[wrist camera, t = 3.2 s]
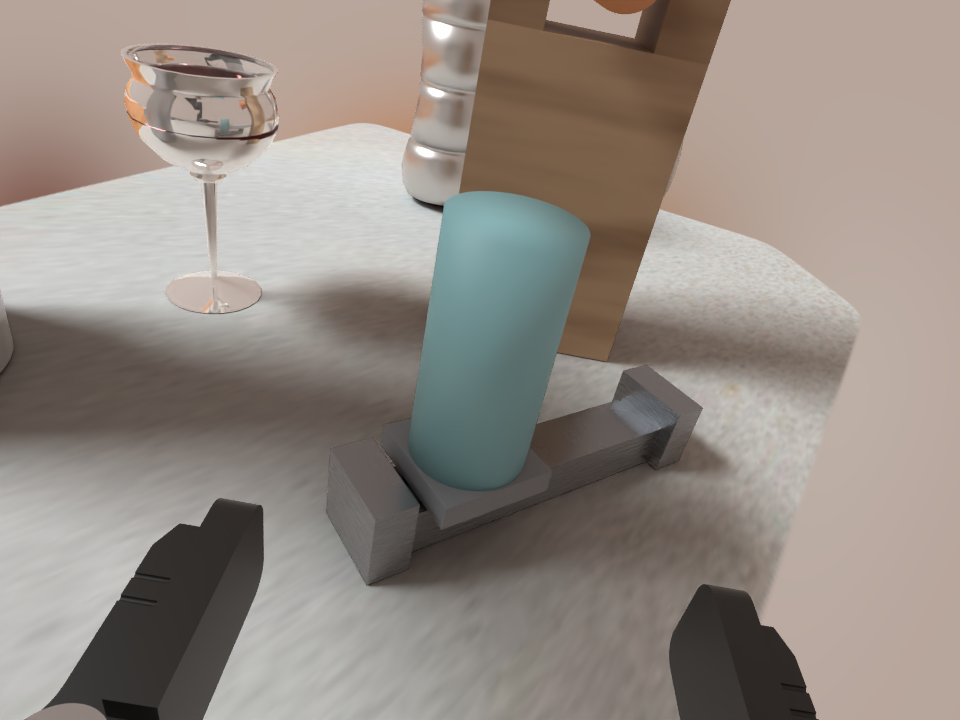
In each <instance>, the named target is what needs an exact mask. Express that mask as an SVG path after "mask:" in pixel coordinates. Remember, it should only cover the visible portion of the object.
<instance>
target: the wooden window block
mask: <svg viewBox="0 0 960 720" xmlns="http://www.w3.org/2000/svg"><path fill="white" fill-rule="evenodd" d="M549 1H550V0H491V1H490V7H489V13H488V19H487V25H486V31H485V38H484V44H483V50H482V56H481V62H480V68H479V74H478V80H477V86H476V92H475V98H474V105H473V111H472V117H471V123H470V129H469V135H468V141H467V147H466V153H465V159H464V165H463V171H462V178H461V184H460V190H459V194H460V193H465V192H473V191H494V192H504V193H511V194H517V195H522V196H526V197H530V198H534V199H538V200H541V201H544V202H547V203H550V204H553V205H555V206H557V207H560V208H562V209H564V210H566V211H568V212H570V213H571V214H573V215H575V216H576V217H578V218H579V219H580V220H581V221H583V222H584V223H585V224H586V225H587V227H588V228H589V230H590V234H591V237H590V240H589V244H588V247H587V250H586V254H585V257H584V261H583V264H582V268H581V271H580V275H579V278H578V282H577V285H576V288H575V292H574V295H573V299H572V302H571V306H570V309H569V313H568V316H567V320H566V323H565V326H564V330H563V333H562V337H561V340H560V344H559V347H558V351H557V353H563V354H568V355H573V356H579V357H584V358H589V359H595V360H600V361H606V362H607V359H608V357H609V354H610V351H611V348H612V345H613V342H614V339H615V336H616V333H617V330H618V327H619V325H620V322H621V319H622V316H623V313H624V310H625V307H626V304H627V301H628V298H629V295H630V292H631V290H632V287H633V284H634V281H635V278H636V275H637V272H638V269H639V266H640V263H641V260H642V258H643V255H644V252H645V249H646V246H647V243H648V240H649V237H650V234H651V231H652V228H653V225H654V223H655V220H656V217H657V214H658V211H659V208H660V205H661V202H662V199H663V197H664V196H665V194H666V193H667V191H668V189H669V187H670V185H671V183H672V180H673V178H674V175H675V172H676V169H677V166H678V162H679V159H680V155H681V150H682V145H683V139H684V135H685V132H686V129H687V126H688V123H689V120H690V118H691V115H692V112H693V109H694V106H695V103H696V100H697V97H698V94H699V91H700V89H701V85H702V83H703V80H704V77H705V74H706V71H707V68H708V65H709V62H710V59H711V56H712V53H713V51H714V48H715V45H716V42H717V39H718V36H719V33H720V30H721V27H722V24H723V22H724V19H725V16H726V13H727V10H728V7H729V4H730V1H731V0H656V1H655V2H654V3H653V4H652V5H650V6H649V7H647V8H646V9H644V10H643V11H642V15H641V18H640V22H639V25H638V29H637V33H636V36H635V39H634V38H629V37H625V36H620V35H615V34H610V33H605V32H601V31H596V30H591V29H586V28H581V27H577V26H572V25H567V24H562V23H558V22H553V21H548V20H546V16H547V11H548V6H549Z"/></svg>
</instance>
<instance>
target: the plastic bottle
mask: <svg viewBox="0 0 960 720" xmlns="http://www.w3.org/2000/svg"><path fill="white" fill-rule="evenodd" d="M490 1H491V0H423V6H422V12H423V17H422V64H421V82H420V89H419V98H418V103H417V107H416V112H415V117H414V122H413V126H412V131H411V137H410V138H409V140H408V143H407V146H406V149H405V153H404V157H403V161H402V180H403V184H404V186H405V188H406V190H407V192H408V193H409V194H410V195H411V196H413V197H414V198H416V199H419V200H421V201H424V202H427V203H431V204H436V205H442V206H444V204H445V202H446V200H448V199H449V198H450V197H452V196H454V195H457V194H459V190H460V184H461V178H462V171H463V165H464V159H465V153H466V147H467V141H468V135H469V129H470V123H471V117H472V111H473V105H474V98H475V92H476V86H477V80H478V74H479V68H480V62H481V56H482V50H483V44H484V38H485V31H486V25H487V19H488V13H489V7H490Z"/></svg>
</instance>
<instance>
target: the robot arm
mask: <svg viewBox="0 0 960 720" xmlns="http://www.w3.org/2000/svg"><path fill="white" fill-rule="evenodd" d="M13 349H14V346H13V340H12V335H11V331H10V327H9V323H8V319H7V315H6V311H5V307H4V303H3V299H2V295H1V291H0V373H1V371H2V370H3V369H4V367H5V366H6V365H7V363H8V362H9V361H10V358H11V355H12V352H13ZM263 561H264V546H263V508H262V506H261V505H256V504H251V503H245V502H239V501H233V500H228V499H222V498H219V499H217V500H216V501H215V502H214V504H213V505H212V507H211V508H210V510H209V512H208V514H207V515H206V517H205V519H204V521H203V522H202V524H201V526H200V527H197V526H191V525H186V524H178V525H177V526H176V527H175V528H173V529H172V530H171V531H170V532H168V533H167V534H166V535H164V536H163V537H162V538H161V539H159V540H158V541H157V542H156V543H154V544H153V545H152V547H151V548H150V550H149V551H148V553H147V555H146V556H145V558H144V559H143V561H142V562H141V564H140V566H139V567H138V569H137V570H136V572H135V576H134V578H131V580H130V581H129V583H128V585H127V586H126V588H125V589H124V591H123V592H122V594H121V598H120V600H119V601H117V602H116V603H115V605H114V607H113V608H112V610H111V611H110V613H109V614H108V616H107V618H106V619H105V621H104V622H103V624H102V626H101V627H100V629H99V630H98V632H97V633H96V635H95V637H94V638H93V640H92V641H91V643H90V644H89V646H88V648H87V649H86V651H85V652H84V654H83V655H82V657H81V659H80V660H79V662H78V663H77V665H76V667H75V668H74V670H73V671H72V673H71V674H70V676H69V678H68V679H67V681H66V682H65V684H64V685H63V687H62V688H61V690H60V691H59V692H58V694H57V695H56V696H55V697H54V698H53V699H52V701H51V702H50V703H49V704H48V705H47V706H45V707H44V708H43V709H42V710H41V711H39V712H37V713H35V714H33V715H31V716H29V717H28V718H26V719H25V720H203V717H204V715H205V713H206V710H207V708H208V706H209V703H210V701H211V699H212V696H213V694H214V692H215V689H216V687H217V684H218V682H219V680H220V677H221V675H222V673H223V670H224V668H225V666H226V663H227V661H228V659H229V656H230V654H231V652H232V649H233V647H234V644H235V642H236V640H237V637H238V635H239V633H240V630H241V628H242V626H243V623H244V621H245V619H246V616H247V614H248V611H249V609H250V607H251V604H252V602H253V600H254V597H255V595H256V592H257V589H258V586H259V583H260V579H261V575H262V569H263ZM669 661H670V669H671V674H672V679H673V685H674V690H675V695H676V700H677V705H678V710H679V715H680V720H818V719H816V711H815V708H814V706H813V703H812V701H811V698H810V695H809V693H806V685H805V682H804V679H803V677H802V674H801V671H800V669H799V666H798V663H797V661H796V658H795V656H794V654H793V653H792V652H791V650H790V649H789V648H788V647H787V645H786V644H785V642H784V641H783V640H782V638H781V637H780V636H779V634H778V633H777V632H776V630H775V629H774V628H773V627H768V626H763V625H761V624H760V622H759V619H758V616H757V613H756V610H755V607H754V604H753V602H752V599H751V597H750V596H749V595H748V593H746V592H745V591H741V590H735V589H729V588H724V587H718V586H712V585H706V584H703V585H701V586H700V587H699V588H698V590H697V591H696V593H695V595H694V597H693V598H692V600H691V602H690V604H689V606H688V607H687V609H686V611H685V613H684V614H683V616H682V618H681V620H680V621H679V623H678V625H677V627H676V628H675V630H674V632H673V635H672V638H671V642H670V650H669Z"/></svg>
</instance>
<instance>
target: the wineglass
mask: <svg viewBox="0 0 960 720" xmlns="http://www.w3.org/2000/svg"><path fill="white" fill-rule="evenodd" d="M120 54H121V56H122V58H123V59H124V61H125V63H126V64H127V66H128V67H129V69H130V70H131V72H132V75H131V78H130V80H129V81H128V83H127V85H126V88H125V97H124V102H125V106H126V109H127V113H128V116H129V119H130V121H131V123H132V125H133V127H134V129H135V131H136V132H137V134H138V136H139V137H140V138H141V139H142V141H144V142H145V143H146V144H147V145H148V146H149V147H150V148H151V149H152V150H154V151H155V152H156V153H157V154H158V155H159V156H160V157H162V159H164V160H165V161H167V162H169V163H171V164H172V165H175V166H177V167H180V168H182V169H185V170H187V171H190V174H191V175H192V176H193V178H194V179H195V180H196V181H199V182H201V192H202V202H203V211H204V221H205V230H206V240H207V249H208V259H209V269H210V271H201V272H193V273H190V274H186V275H183V276H180V277H178V278H177V279H175V280H173V281H172V282H171V283H170V284H169V285H168V286H167V287H166V296H167V297H168V299H169V301H171V302H172V303H174V304H175V305H177V306H178V307H181V308H184V309H187V310H189V311H194V312H201V313H227V312H233V311H238V310H241V309H244V308H247V307H249V306H251V305H252V304H254V303H255V302H257V301H258V299H259V298H260V296H261V288H260V286H259V285H258V284H257V283H256V282H255V281H254V280H252V279H250V278H249V277H246V276H243V275H240V274H237V273H233V272H226V271H217V183H219V182H222V181H223V180H224V178H225V177H226V174H227V173H230V172H233V171H237V170H240V169H243V168H245V167H248V166H249V165H250V164H251V163H252V162H253V161H255V160H256V159H257V158H258V157H259V156H260V155H261V154H262V153H263V152H264V151H266V150H267V149H268V148H269V147H270V146H271V144H272V142H273V139H274V137H275V135H276V132H277V129H278V119H279V113H278V109H277V104H276V99H275V97H274V95H273V93H272V92H271V90H270V86H271V84H272V82H273V80H274V77H275V76H276V74H277V73H278V70H277V68H276V67H275V66H273V65H272V64H270V63H269V62H266V61H264V60H261V59H258V58H256V57H252V56H248V55H244V54H240V53H237V52H231V51H226V50H221V49H215V48H208V47H200V46H192V45H178V44H141V45H132V46H129V47H126V48H123V49H122V51H121V52H120Z"/></svg>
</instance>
